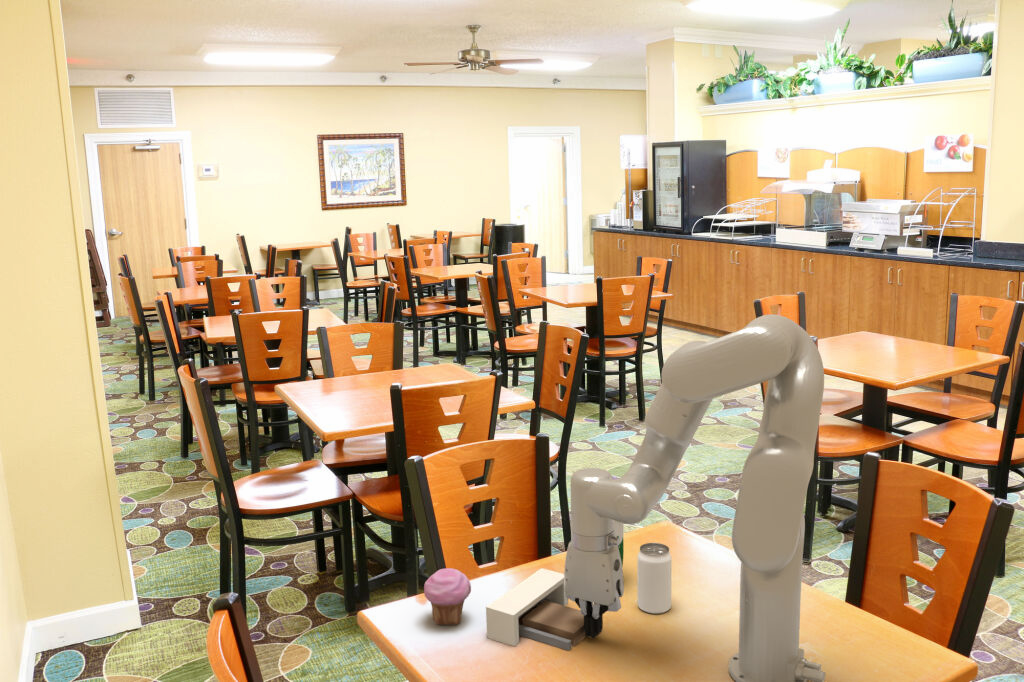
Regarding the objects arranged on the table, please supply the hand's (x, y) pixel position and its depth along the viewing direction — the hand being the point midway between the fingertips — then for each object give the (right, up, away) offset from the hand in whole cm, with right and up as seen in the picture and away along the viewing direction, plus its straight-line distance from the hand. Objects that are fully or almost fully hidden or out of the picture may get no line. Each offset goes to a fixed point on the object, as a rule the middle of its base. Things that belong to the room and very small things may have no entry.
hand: (593, 634), depth 156 cm
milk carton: (+4, +3, +24) cm, 24 cm away
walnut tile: (-6, -1, +4) cm, 7 cm away
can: (+13, +1, +12) cm, 18 cm away
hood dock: (-8, 0, +5) cm, 9 cm away
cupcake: (-27, 0, +9) cm, 28 cm away
